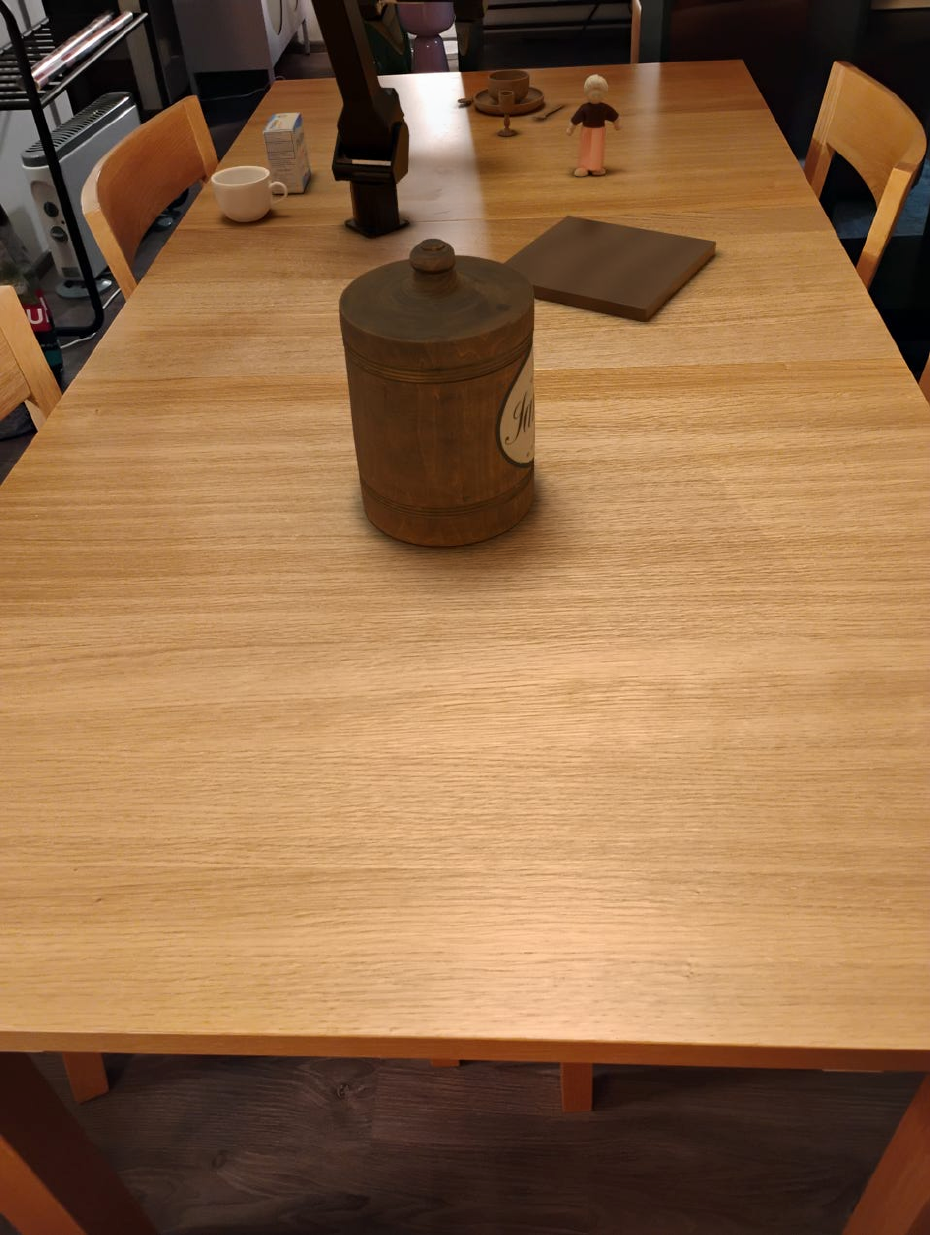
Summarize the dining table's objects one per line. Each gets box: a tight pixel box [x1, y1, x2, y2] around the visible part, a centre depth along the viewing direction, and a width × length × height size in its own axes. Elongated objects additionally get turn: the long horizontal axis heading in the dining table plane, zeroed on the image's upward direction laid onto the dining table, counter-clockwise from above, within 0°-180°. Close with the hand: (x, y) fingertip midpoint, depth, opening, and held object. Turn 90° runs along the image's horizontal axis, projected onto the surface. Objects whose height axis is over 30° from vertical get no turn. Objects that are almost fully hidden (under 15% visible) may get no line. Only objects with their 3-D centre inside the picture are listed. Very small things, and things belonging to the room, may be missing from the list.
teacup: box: [210, 165, 289, 223], centre depth 135 cm, size 10×8×5 cm
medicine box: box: [262, 112, 312, 195], centre depth 142 cm, size 8×4×9 cm, turn 179°
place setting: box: [457, 69, 565, 137], centre depth 163 cm, size 18×20×6 cm
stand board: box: [502, 215, 717, 323], centre depth 117 cm, size 20×20×2 cm
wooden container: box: [338, 238, 536, 547], centre depth 78 cm, size 15×15×22 cm
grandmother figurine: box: [565, 73, 623, 177], centre depth 138 cm, size 8×4×13 cm, turn 105°
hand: (433, 52), depth 141 cm, fingers open, 9 cm apart
